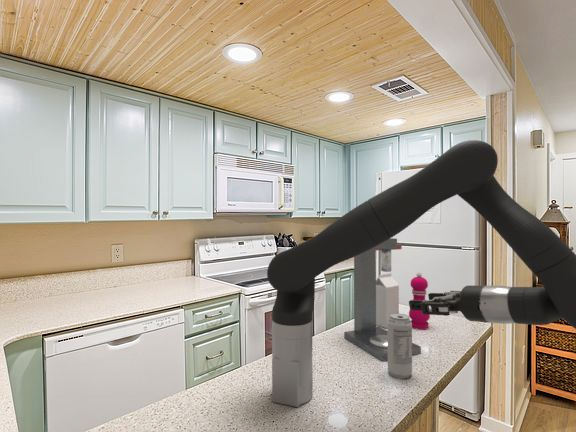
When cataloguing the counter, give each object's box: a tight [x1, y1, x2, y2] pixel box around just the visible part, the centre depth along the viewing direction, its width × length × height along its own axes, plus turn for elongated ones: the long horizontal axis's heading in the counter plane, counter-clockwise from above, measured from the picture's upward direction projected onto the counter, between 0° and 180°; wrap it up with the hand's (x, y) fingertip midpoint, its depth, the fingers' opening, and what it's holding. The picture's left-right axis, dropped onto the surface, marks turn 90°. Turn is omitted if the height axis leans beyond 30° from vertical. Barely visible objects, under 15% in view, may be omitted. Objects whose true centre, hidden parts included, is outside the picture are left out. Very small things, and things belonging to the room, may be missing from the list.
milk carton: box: [376, 272, 400, 329], centre depth 128 cm, size 7×7×19 cm
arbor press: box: [343, 237, 422, 362], centre depth 109 cm, size 20×22×34 cm
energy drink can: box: [387, 313, 413, 379], centre depth 88 cm, size 6×6×15 cm
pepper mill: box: [408, 272, 431, 330], centre depth 125 cm, size 7×7×20 cm
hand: (420, 301), depth 83 cm, fingers open, 8 cm apart
